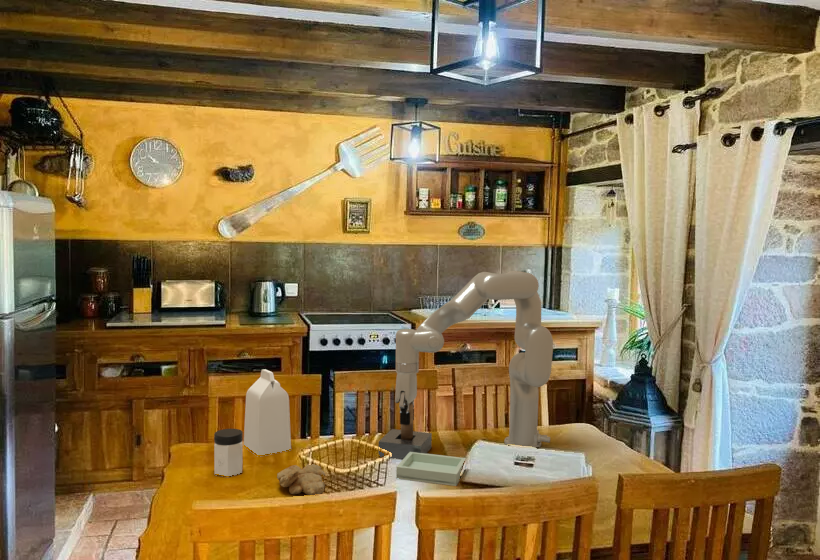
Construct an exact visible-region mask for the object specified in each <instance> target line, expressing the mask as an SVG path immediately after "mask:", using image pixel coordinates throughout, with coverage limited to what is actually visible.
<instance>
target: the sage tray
mask: <svg viewBox="0 0 820 560" xmlns="http://www.w3.org/2000/svg"><path fill="white" fill-rule="evenodd" d="M465 459H466V460H467V457H461V456H460V457H459V456H450V455H442V454H433V453H427V454H425V453H417V452H409V453H408V454H407V455H406V457H405V458H404V459H401V461H400V462H399V464H397V466H396V470H395V471H396V477H395V478H396V479H397V478H399V479H398V480H405V481H414V482H421V483H428V484H429V483H430V484H436V485H437V484H438V485H445V486H446V485H447V486H453V487H454V486H455V487H457V486H458V484H459V482H460V480H461V479H460V472H461V469H462V466H463V463H464V461H465ZM459 479H460V480H459Z"/></svg>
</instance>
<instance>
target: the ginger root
mask: <svg viewBox="0 0 820 560" xmlns="http://www.w3.org/2000/svg"><path fill="white" fill-rule="evenodd" d="M322 474H323V475H324V476H326V475H327V474H326V473H325V472H324V470H323V469H322V467H321V465H320V466H318V465H315V464H312V465H309V463H307V464H306V466H304V467H303V468H301V467H300V466H298V465H297V464H295V465H290V466H289V467H286V468H285V469H283V470H281V471H280V472H277V476H276V478H277V480H278V482H279V486H280V487H283V488H287V487H288V491H289V494H292V495H297V494H298V495H299V494H301V493H304V494H306V495H308V496H310V495H315V494H319V495H320V494H323V492H324V491H325V487H326V483H325V482H322V477H321V475H322ZM315 496H316V495H315Z"/></svg>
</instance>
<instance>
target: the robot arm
mask: <svg viewBox="0 0 820 560" xmlns="http://www.w3.org/2000/svg"><path fill="white" fill-rule="evenodd" d="M539 286H540V285H539V279H537V277H536V276H535V275H534V274H532V273H531V272H530V273H529V272H525V271H521V270H520V271H519V270H510V271H508V272H506V273H494V272H489V271H488V272H487V271H482V272H479V273H477V274H476V275H475V276H474V277H472V278H471V279H470V280H469V281H468V282H467V283H466V284H465V286H463V287H462V288H461V289H460V291H459V292H458V293H456V295H455V296H453V297H452V298H451V300H449V301H447V302H446V303H444V304H443V305H442V306H441V307H439V308H437V309H436V310H434V312H432V313H431V314H430V315H428V317H427V318H426V319H425V320H423V322H422V323H420V324H419V326H418V327H417V328H416V329H412V328H411V329H410V328H402V329H399V330H397V331H396V332H395V372H396V380H395V394H394V395H395V398H394V402H395V404H399V405H398V406H399V425H401V424H403V425H409V424H410V412H409V403H412V404H413V421H414V420H415V408H414V407H415V399H416V398H417V396H418V395H417V394H418V377H417V374H418V373H419V371H420V369H419V368H420V367H419V365H420V364H419V363H420V361H419V360H420V355H419V353H420V352H421V353H430V354H432V353H437V352H439V351H441V350H442V349H443V347H444V344H445V338H444V335H443V333H444V332H445V331H446V330H447V329H448V328H450V327H451V326H453V325H455V324H458V323H462V322H464V321H466V320H468V319H470V318H471V317H472V316H473V315H474V314H475V313H476V312H477V311H478V310H479V309H480V308H481V307H482V306H483V305H484V304H485V303H486V302H487V301H488V300H493V301H496V300H497V301H501V300H502V301H503V300H504V301H505V300H507V301H508V300H510V301H511V300H513V301H514V304H515V314H516V315H515V323H514V324H515V325H514V327H515V328H514V342H515V344H516V345H517V346H518V347H519V348H520V349H523V350H525V351H524V352H518V353H516V354H514V355H513V356H512V358H511V359H510V361H509V364H508V373H509V375H508V376H509V383H510V384H509V386H510V387H509V388H510V389H509V390H510V391H509V392H510V394H509V397H510V399H509V426H508V427H509V431H508V436H506V437H505V438H504V444H505V445H506V444H515V445H522V446H532V447H539V448H541V447H542V443H543V442H544V443H549V444H551V436H548V434H541V433H540V432H539V431H540V430H539V429H538V420H539V419H538V417H539V388H540V387H543V386H544V385H546V384H547V382H549V379H550V378H551V377H550V376H551V373H552V367H553V366H552V365H553V364H552V363H553V351H554V339H553V335H552V333H551V332H550V330H549V329H548V328H547V327H545V326H543V325H542V301H541V298H540V295H539V293H538V290H539ZM405 405H407V408H406V406H405Z"/></svg>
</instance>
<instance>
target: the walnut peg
mask: <svg viewBox="0 0 820 560" xmlns="http://www.w3.org/2000/svg"><path fill="white" fill-rule="evenodd" d="M405 406H406V408H407V405H405ZM413 409H414V408H413V404H412V403H409V412H410V424H409V425H403V424H400V430H401V440H410V441H412V440H413V431H414V420H413Z"/></svg>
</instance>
